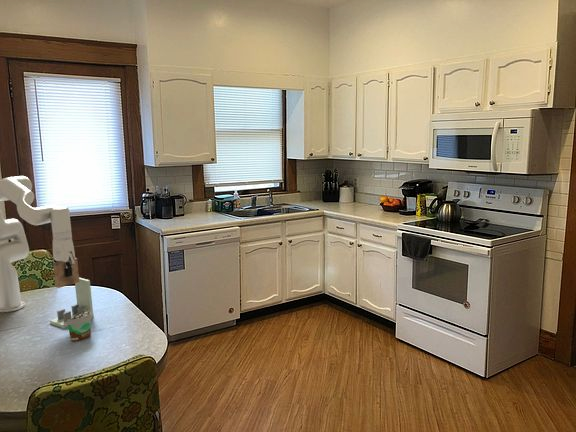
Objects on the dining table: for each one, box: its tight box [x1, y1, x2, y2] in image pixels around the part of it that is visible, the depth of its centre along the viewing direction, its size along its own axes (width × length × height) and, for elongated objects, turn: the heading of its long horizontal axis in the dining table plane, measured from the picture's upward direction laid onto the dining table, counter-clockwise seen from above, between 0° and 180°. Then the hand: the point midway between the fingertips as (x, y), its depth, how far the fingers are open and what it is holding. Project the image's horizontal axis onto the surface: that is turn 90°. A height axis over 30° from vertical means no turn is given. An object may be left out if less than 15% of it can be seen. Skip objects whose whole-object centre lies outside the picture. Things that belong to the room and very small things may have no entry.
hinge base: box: [49, 277, 95, 329], centre depth 222 cm, size 15×10×18 cm, turn 146°
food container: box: [67, 309, 93, 343], centre depth 204 cm, size 12×6×10 cm, turn 168°
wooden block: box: [52, 257, 80, 289], centre depth 219 cm, size 10×3×11 cm, turn 146°
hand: (66, 275), depth 219 cm, fingers closed on wooden block, 2 cm apart
